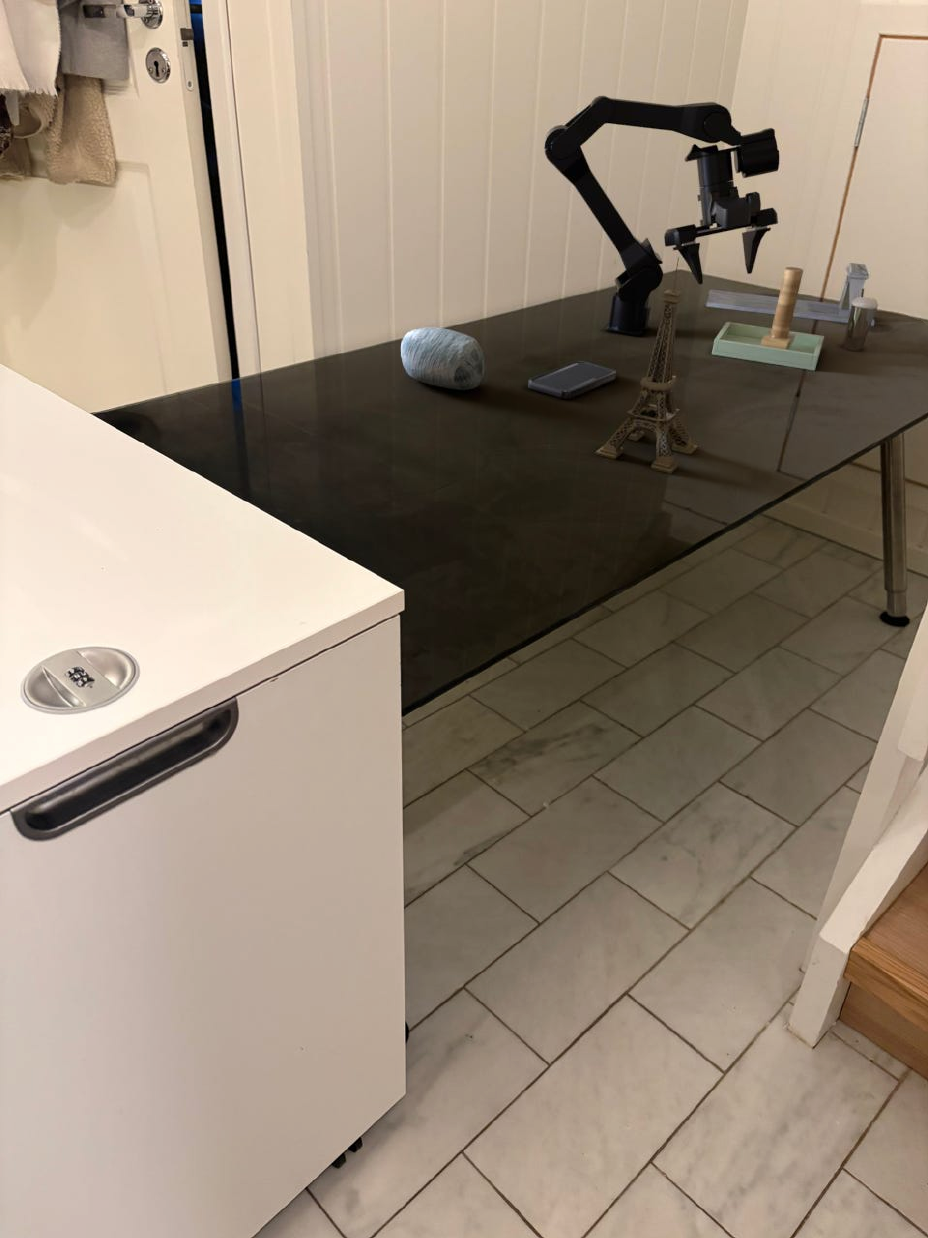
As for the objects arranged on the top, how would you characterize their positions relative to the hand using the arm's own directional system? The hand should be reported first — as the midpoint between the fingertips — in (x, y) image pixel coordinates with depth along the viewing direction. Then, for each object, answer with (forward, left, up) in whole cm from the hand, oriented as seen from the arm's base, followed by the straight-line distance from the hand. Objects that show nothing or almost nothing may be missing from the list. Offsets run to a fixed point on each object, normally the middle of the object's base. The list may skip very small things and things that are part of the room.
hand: (725, 278), depth 168 cm
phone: (-16, -37, -11) cm, 42 cm away
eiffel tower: (+1, -59, -11) cm, 60 cm away
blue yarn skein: (-34, -48, -11) cm, 60 cm away
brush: (+11, -2, -11) cm, 16 cm away
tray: (+10, -2, -11) cm, 15 cm away
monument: (+10, +33, -11) cm, 36 cm away
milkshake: (+24, +10, -11) cm, 28 cm away
